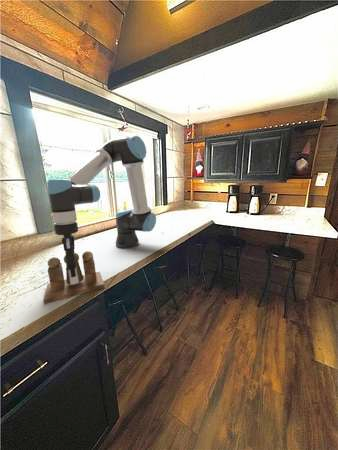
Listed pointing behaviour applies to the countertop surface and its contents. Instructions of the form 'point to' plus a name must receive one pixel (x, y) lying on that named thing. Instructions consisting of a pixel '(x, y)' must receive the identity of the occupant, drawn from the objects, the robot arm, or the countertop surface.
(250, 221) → the countertop surface
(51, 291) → the wooden peg board
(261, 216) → the countertop surface
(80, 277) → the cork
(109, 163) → the robot arm
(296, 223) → the countertop surface
